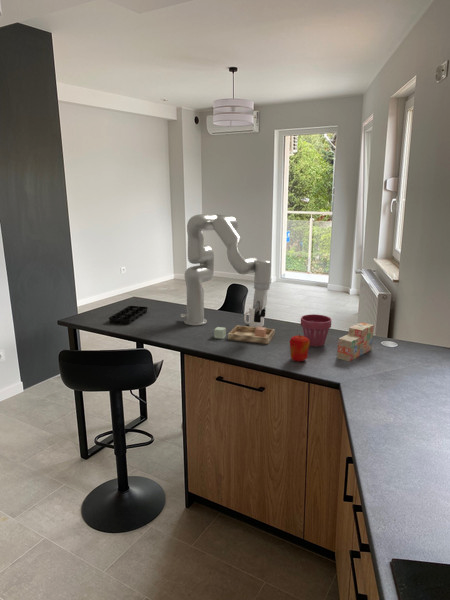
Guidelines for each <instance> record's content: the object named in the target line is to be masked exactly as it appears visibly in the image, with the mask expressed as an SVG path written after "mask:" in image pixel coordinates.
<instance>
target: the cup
mask: <svg viewBox="0 0 450 600" xmlns="http://www.w3.org/2000/svg"><path fill="white" fill-rule="evenodd" d="M254 312H255V309H253V305H250V306H249V307H248V310H247V311H246V312H245V313H244V316H243V317H244V318H243V319H244V323H245V324H246V325H248V327H264V325H265V317H261V322H260V323H259V322H254ZM247 315H248V321H247Z"/></svg>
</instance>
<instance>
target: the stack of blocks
mask: <svg viewBox="0 0 450 600" xmlns="http://www.w3.org/2000/svg"><path fill="white" fill-rule="evenodd" d="M374 329H375V325H374V324H370V323H366V322H359V323H356V324H354V325H352V326H349V328H348V334H346V335H343V336H341V337H339V338H338V341H337V350H336V351H337V354H336V359H339V360H343V361H346V362H351V361H353V360H355V359H357V358H359V357H360V356H363V355H364V354H367V353H368V352H370V351H372V348H373V338H374Z"/></svg>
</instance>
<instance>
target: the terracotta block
mask: <svg viewBox="0 0 450 600" xmlns="http://www.w3.org/2000/svg"><path fill="white" fill-rule="evenodd" d="M266 328H267V327H264V326H263V327H257V328H256V329H255V336H258V337H266Z"/></svg>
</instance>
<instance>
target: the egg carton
mask: <svg viewBox="0 0 450 600" xmlns="http://www.w3.org/2000/svg"><path fill="white" fill-rule="evenodd" d="M148 309H149V308H148V307H147V306H141V305H140V306H139V305H128V306H126V307H125V308H122V309H121V310H119V311H118V312H116V313H115V314H112V315H111V316H109V317H108V320H109V324H111V325H118V324H120V325H123V326H124V325H125V326H128V325H131V324H132V323H133V322H135V321H136V320H138V319H140V317H143V316H144V315H146V314H147V313H148Z"/></svg>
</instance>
